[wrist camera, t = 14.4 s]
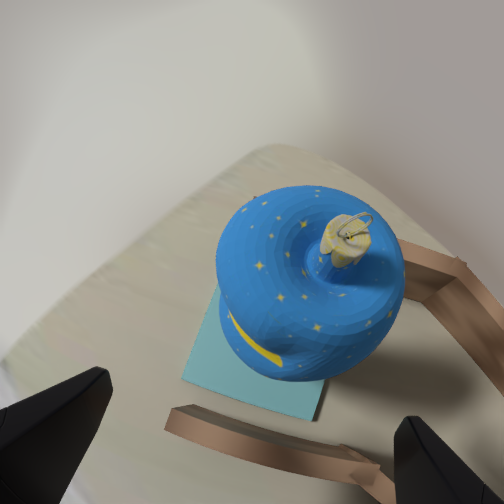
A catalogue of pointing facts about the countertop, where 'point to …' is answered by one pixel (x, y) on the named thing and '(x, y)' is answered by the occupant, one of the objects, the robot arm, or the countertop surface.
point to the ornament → (307, 282)
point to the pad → (243, 373)
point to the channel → (341, 458)
